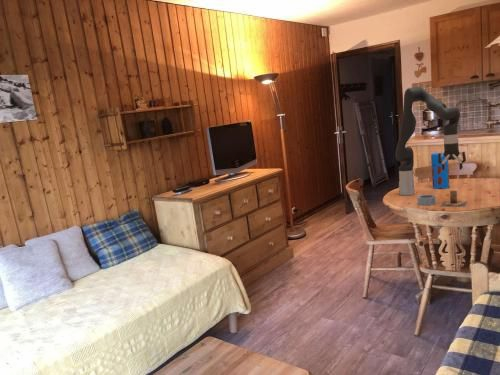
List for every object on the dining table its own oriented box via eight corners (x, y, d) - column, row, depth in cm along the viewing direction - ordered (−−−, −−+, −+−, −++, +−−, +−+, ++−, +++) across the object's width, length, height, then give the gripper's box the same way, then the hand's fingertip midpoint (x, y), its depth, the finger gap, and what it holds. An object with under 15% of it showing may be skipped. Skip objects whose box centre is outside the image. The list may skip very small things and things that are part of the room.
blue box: (448, 189, 271) (446, 153, 267) (431, 189, 277) (430, 155, 273) (449, 186, 280) (448, 152, 276) (433, 186, 286) (432, 153, 282)
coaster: (439, 207, 228) (439, 206, 227) (443, 202, 238) (443, 201, 238) (464, 207, 220) (464, 206, 220) (467, 202, 230) (467, 201, 230)
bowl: (416, 206, 237) (415, 198, 236) (419, 202, 245) (419, 194, 244) (434, 206, 231) (433, 198, 230) (437, 202, 239) (436, 194, 238)
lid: (442, 206, 228) (441, 193, 226) (445, 201, 236) (444, 189, 235) (463, 206, 221) (462, 193, 220) (465, 201, 230) (465, 189, 229)
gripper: (436, 144, 224) (437, 171, 227) (464, 142, 216) (465, 170, 218) (438, 142, 230) (440, 169, 233) (465, 140, 222) (466, 168, 224)
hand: (452, 170), depth 226 cm, fingers open, 8 cm apart
